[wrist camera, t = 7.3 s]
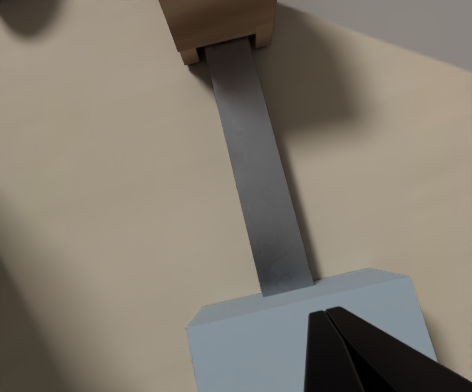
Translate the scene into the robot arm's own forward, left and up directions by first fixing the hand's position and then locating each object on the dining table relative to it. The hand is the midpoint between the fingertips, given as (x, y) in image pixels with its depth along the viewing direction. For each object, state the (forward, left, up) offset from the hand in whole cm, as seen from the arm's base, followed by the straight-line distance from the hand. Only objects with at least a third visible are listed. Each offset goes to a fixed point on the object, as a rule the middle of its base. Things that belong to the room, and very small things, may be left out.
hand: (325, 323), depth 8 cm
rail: (+6, -9, -10) cm, 14 cm away
